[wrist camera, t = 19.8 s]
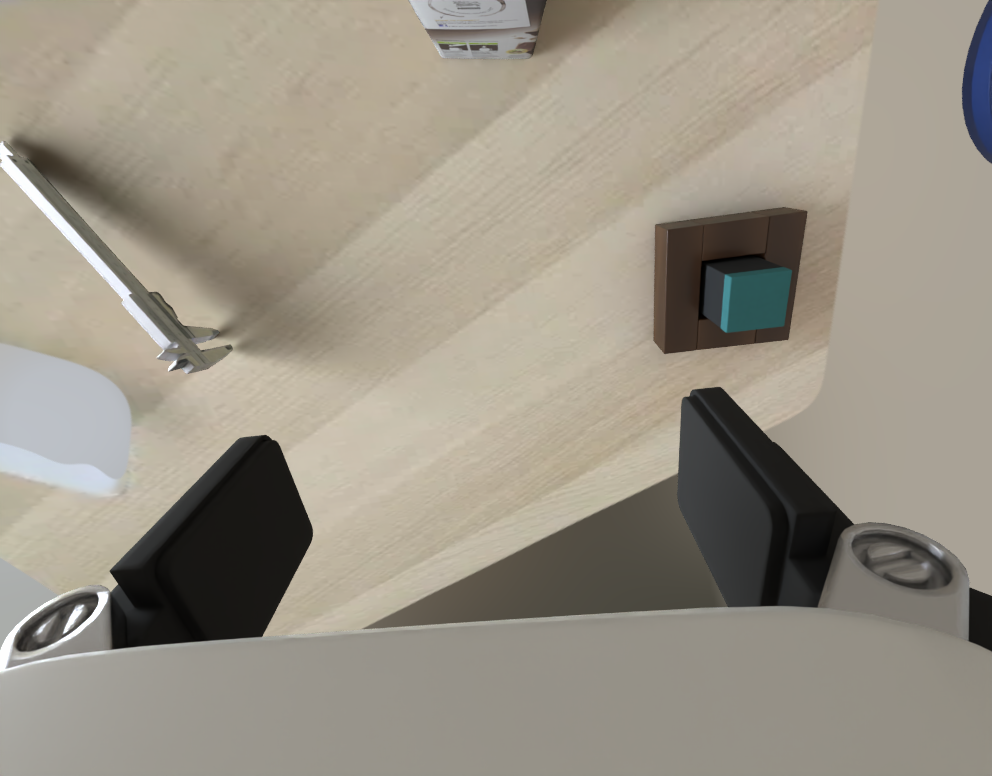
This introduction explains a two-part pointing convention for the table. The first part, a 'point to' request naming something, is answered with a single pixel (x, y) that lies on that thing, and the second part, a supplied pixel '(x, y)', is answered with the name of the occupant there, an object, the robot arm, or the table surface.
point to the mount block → (711, 239)
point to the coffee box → (481, 27)
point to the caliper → (117, 273)
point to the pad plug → (744, 293)
